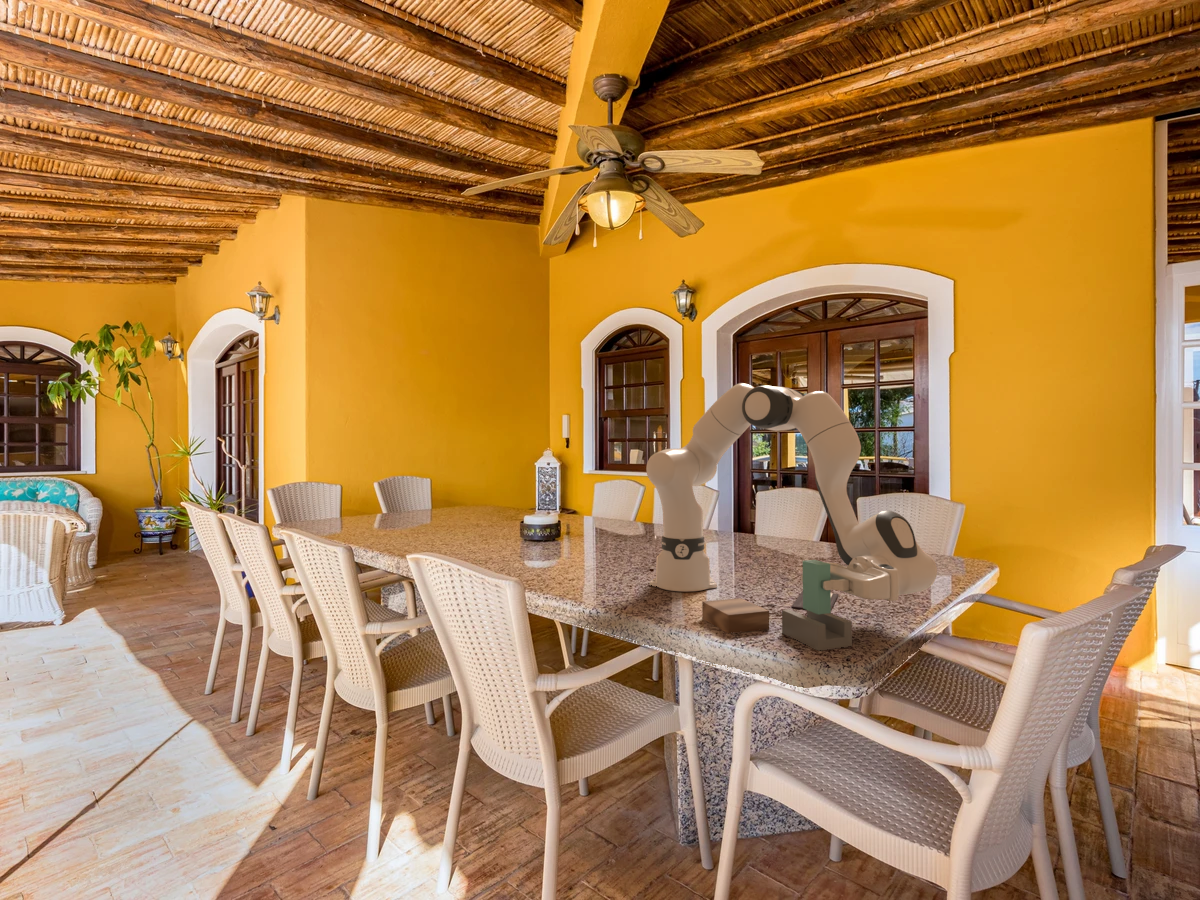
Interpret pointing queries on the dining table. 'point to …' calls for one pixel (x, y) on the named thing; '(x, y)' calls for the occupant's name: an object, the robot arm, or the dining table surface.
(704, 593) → the dining table surface
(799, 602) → the chocolate bar
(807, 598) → the sage green upright block
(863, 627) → the dining table surface
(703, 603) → the brown block
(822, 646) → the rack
